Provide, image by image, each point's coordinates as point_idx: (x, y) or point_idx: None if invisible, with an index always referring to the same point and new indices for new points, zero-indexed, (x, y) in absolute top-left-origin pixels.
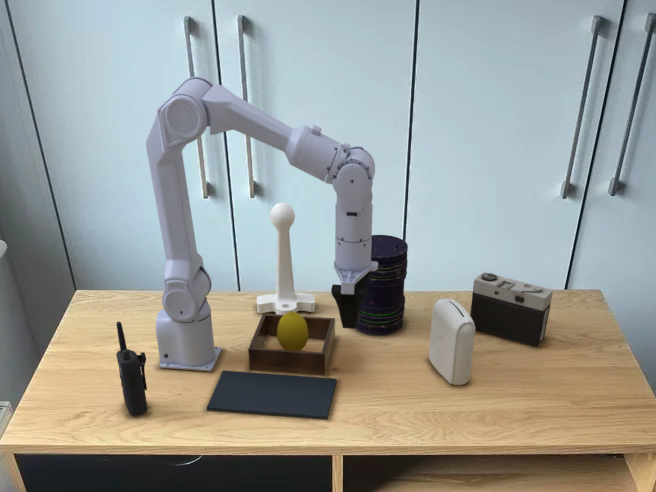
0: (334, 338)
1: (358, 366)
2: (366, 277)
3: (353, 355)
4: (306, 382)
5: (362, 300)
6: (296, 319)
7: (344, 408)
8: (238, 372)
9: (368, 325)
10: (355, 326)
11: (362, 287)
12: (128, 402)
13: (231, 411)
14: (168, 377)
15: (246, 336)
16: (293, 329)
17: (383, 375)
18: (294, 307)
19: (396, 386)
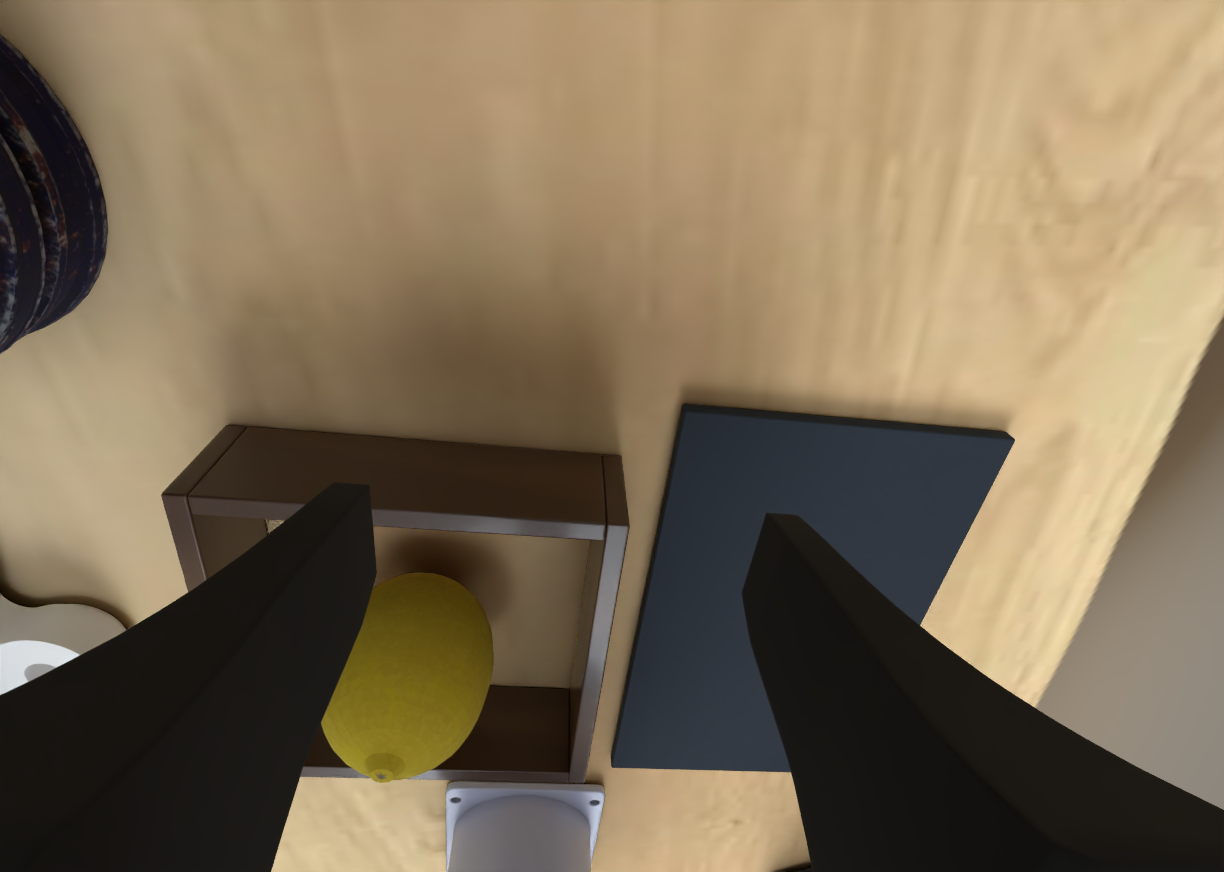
0: (246, 431)
1: (521, 296)
2: (184, 727)
3: (398, 324)
4: (714, 531)
5: (1146, 773)
6: (423, 733)
7: (932, 361)
8: (626, 732)
9: (62, 253)
10: (807, 526)
11: (270, 627)
12: None
13: None
14: (636, 853)
15: None
16: (472, 706)
17: (619, 142)
18: (45, 647)
19: (757, 54)
